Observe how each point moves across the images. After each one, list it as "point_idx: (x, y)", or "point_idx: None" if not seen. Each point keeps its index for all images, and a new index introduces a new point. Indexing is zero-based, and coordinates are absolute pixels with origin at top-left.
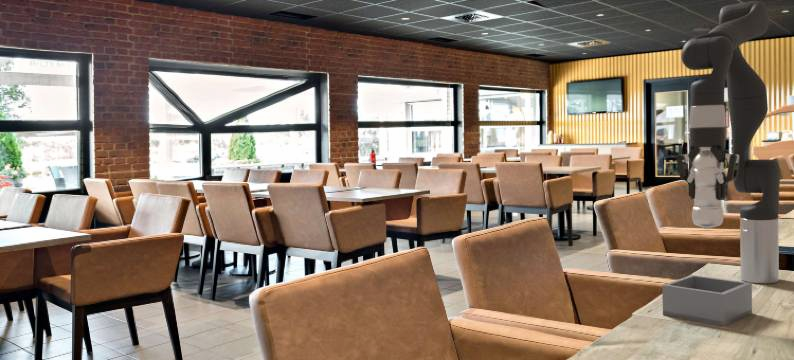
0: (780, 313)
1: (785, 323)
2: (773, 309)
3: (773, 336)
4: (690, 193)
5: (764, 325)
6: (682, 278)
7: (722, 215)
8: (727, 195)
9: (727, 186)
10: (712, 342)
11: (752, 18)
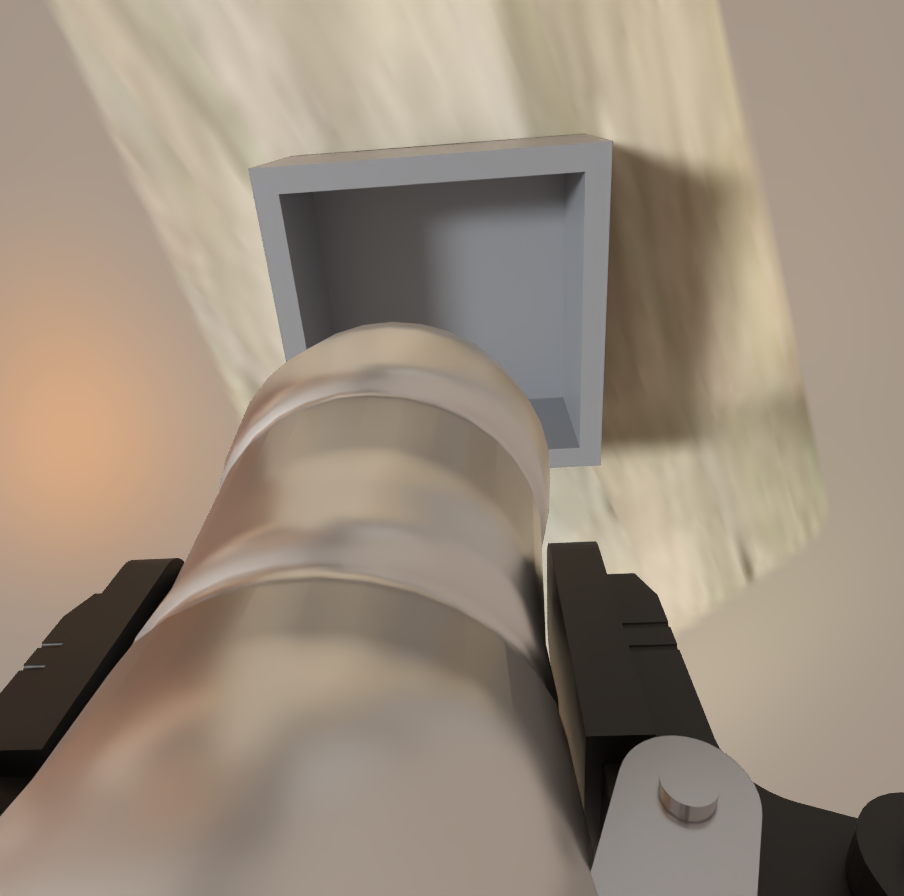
0: (690, 29)
1: (753, 199)
2: None
3: (758, 401)
4: None
5: (691, 290)
6: (276, 294)
7: (549, 469)
8: (654, 595)
9: (701, 714)
10: (622, 571)
11: None
